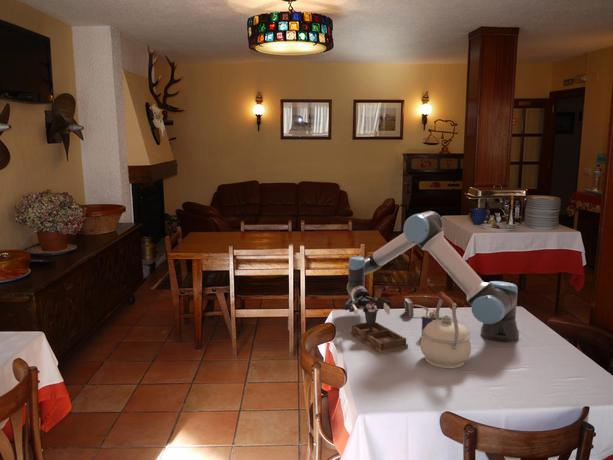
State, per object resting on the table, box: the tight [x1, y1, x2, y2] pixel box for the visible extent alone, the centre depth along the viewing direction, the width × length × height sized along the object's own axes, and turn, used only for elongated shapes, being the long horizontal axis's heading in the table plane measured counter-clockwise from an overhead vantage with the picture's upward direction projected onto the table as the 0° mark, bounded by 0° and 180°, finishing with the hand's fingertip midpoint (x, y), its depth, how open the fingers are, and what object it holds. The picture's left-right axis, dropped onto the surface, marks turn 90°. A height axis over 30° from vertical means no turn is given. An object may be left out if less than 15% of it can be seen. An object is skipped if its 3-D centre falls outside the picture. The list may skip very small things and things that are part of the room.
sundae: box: [362, 297, 379, 334], centre depth 219 cm, size 7×7×15 cm
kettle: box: [419, 291, 472, 369], centre depth 196 cm, size 25×18×25 cm
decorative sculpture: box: [403, 297, 436, 318], centre depth 244 cm, size 16×10×7 cm, turn 71°
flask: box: [421, 312, 443, 337], centre depth 219 cm, size 9×3×11 cm, turn 87°
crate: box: [349, 321, 409, 355], centre depth 216 cm, size 23×13×4 cm, turn 27°
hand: (372, 312), depth 215 cm, fingers open, 13 cm apart
